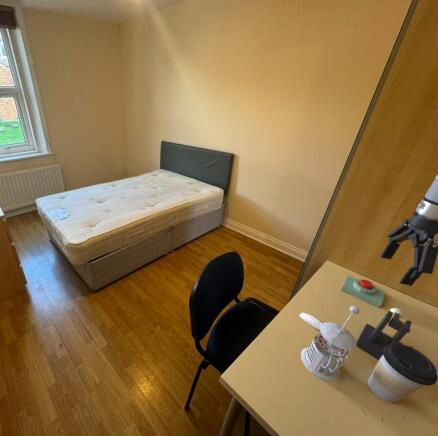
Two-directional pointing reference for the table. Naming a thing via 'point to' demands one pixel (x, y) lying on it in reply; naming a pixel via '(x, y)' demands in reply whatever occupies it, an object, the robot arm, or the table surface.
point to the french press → (329, 350)
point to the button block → (363, 291)
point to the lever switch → (396, 319)
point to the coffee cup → (401, 373)
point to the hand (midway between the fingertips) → (394, 270)
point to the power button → (366, 284)
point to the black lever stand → (380, 336)
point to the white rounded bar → (311, 320)
